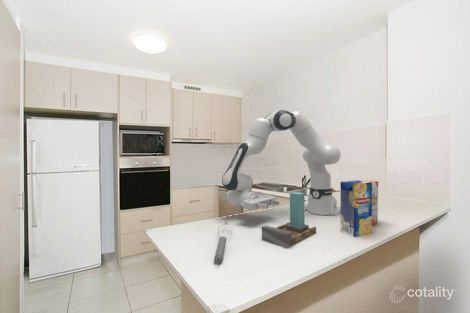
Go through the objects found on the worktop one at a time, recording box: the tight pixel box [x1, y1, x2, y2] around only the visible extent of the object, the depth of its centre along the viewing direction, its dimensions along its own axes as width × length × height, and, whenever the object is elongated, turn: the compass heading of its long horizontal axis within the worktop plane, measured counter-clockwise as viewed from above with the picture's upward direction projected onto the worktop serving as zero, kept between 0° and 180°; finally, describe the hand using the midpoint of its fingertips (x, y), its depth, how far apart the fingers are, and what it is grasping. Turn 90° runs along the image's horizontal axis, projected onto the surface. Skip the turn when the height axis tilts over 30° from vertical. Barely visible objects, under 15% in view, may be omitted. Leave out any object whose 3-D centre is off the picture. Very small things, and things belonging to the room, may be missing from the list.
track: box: [261, 221, 317, 249], centre depth 93 cm, size 22×12×5 cm, turn 134°
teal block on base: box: [286, 191, 310, 233], centre depth 97 cm, size 7×7×16 cm
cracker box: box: [364, 179, 379, 226], centre depth 108 cm, size 14×6×21 cm, turn 129°
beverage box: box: [340, 179, 373, 238], centre depth 97 cm, size 7×11×22 cm, turn 114°
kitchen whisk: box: [213, 218, 233, 267], centre depth 85 cm, size 6×34×6 cm, turn 178°
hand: (273, 204), depth 107 cm, fingers open, 8 cm apart
